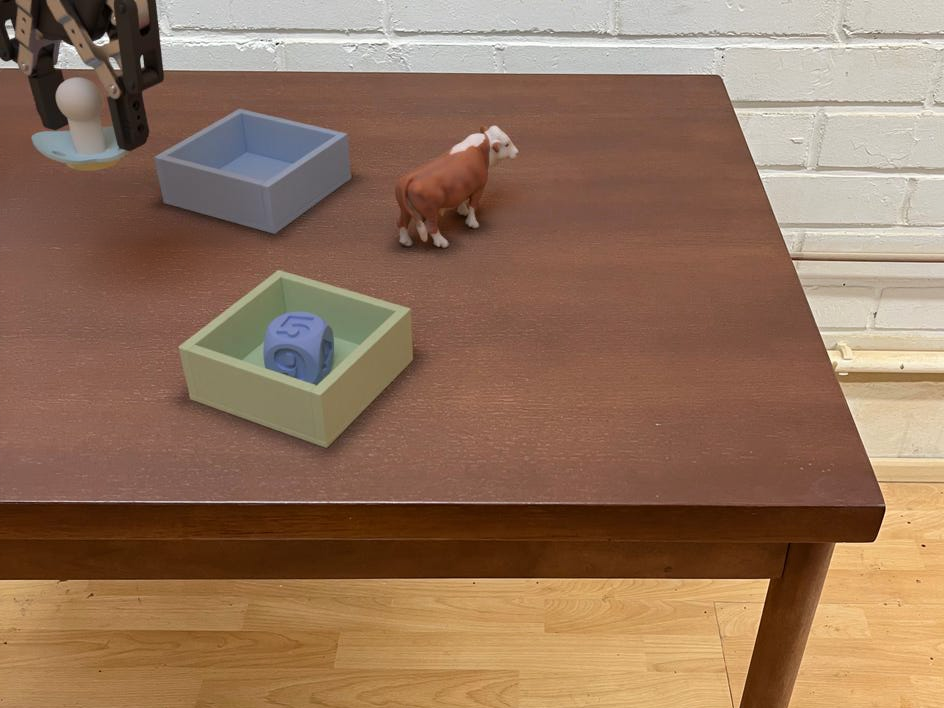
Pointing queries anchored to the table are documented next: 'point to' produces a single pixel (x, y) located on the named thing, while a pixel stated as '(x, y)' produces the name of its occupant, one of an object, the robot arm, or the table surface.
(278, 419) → the sage bin
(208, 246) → the table surface
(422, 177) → the bull figurine
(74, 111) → the pacifier
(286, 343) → the decorative dice
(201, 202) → the bluegrey bin
